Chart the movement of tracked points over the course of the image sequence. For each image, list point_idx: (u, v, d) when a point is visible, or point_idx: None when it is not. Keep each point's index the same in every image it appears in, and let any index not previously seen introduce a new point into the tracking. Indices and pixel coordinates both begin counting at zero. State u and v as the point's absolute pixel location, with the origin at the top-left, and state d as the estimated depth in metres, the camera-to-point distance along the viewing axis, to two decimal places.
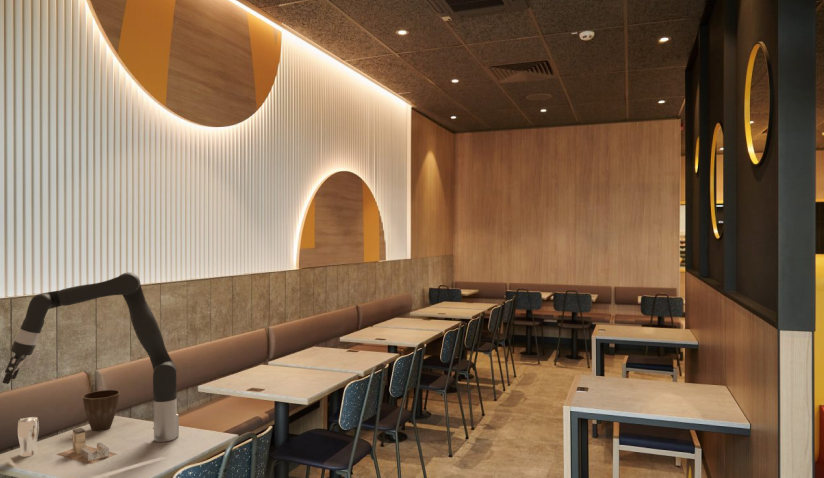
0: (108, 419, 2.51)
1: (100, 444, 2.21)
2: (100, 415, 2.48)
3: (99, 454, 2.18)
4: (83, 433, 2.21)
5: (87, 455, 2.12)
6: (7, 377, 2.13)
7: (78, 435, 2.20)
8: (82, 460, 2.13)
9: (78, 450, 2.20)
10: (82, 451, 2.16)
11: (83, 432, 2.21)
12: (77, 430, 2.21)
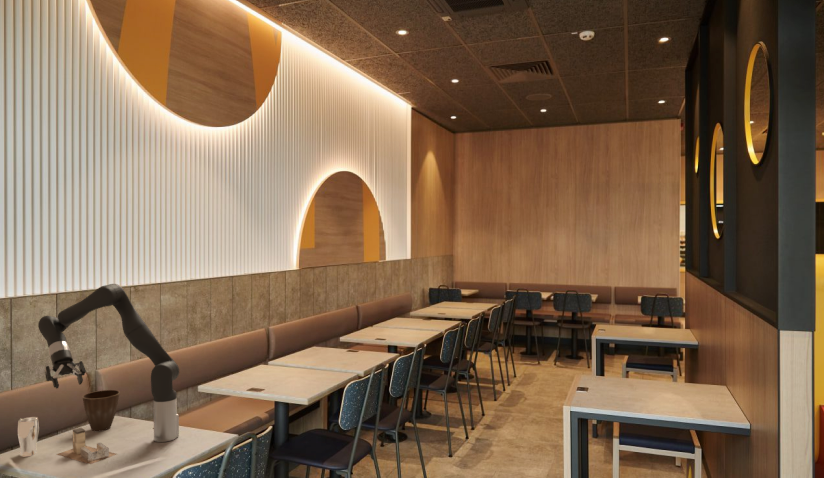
0: (108, 419, 2.51)
1: (100, 444, 2.21)
2: (100, 415, 2.48)
3: (99, 454, 2.18)
4: (83, 433, 2.21)
5: (87, 455, 2.12)
6: (53, 382, 2.27)
7: (78, 435, 2.20)
8: (82, 460, 2.13)
9: (78, 450, 2.20)
10: (82, 451, 2.16)
11: (83, 432, 2.21)
12: (77, 430, 2.21)
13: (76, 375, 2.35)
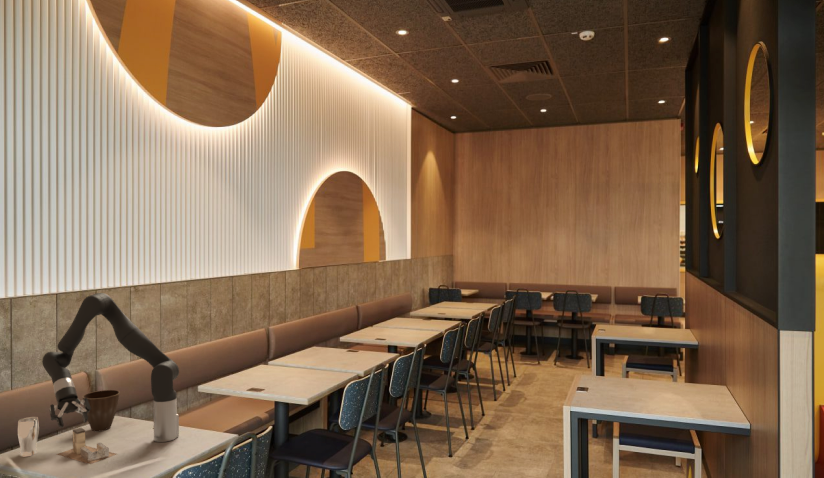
0: (108, 419, 2.51)
1: (100, 444, 2.21)
2: (100, 415, 2.48)
3: (99, 454, 2.18)
4: (83, 433, 2.21)
5: (87, 455, 2.12)
6: (58, 421, 2.24)
7: (78, 435, 2.20)
8: (82, 460, 2.13)
9: (78, 450, 2.20)
10: (82, 451, 2.16)
11: (83, 432, 2.21)
12: (77, 430, 2.21)
13: (81, 413, 2.32)
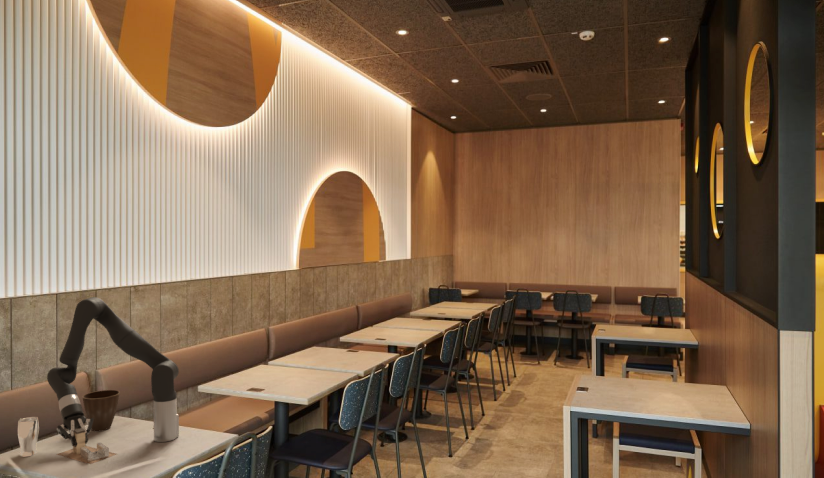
0: (108, 419, 2.51)
1: (100, 444, 2.21)
2: (100, 415, 2.48)
3: (99, 454, 2.18)
4: (83, 433, 2.21)
5: (87, 455, 2.12)
6: (71, 440, 2.20)
7: (78, 435, 2.20)
8: (82, 460, 2.13)
9: (78, 450, 2.20)
10: (82, 451, 2.16)
11: (83, 432, 2.21)
12: (77, 430, 2.21)
13: None
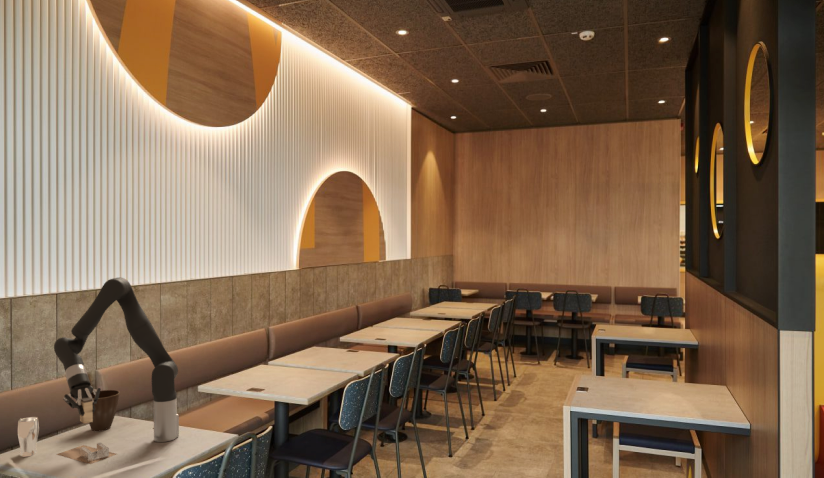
0: (108, 419, 2.51)
1: (100, 444, 2.21)
2: (100, 415, 2.48)
3: (99, 454, 2.18)
4: (90, 402, 2.19)
5: (87, 455, 2.12)
6: (78, 409, 2.18)
7: (85, 404, 2.18)
8: (82, 460, 2.13)
9: (85, 419, 2.18)
10: (82, 451, 2.16)
11: (90, 401, 2.19)
12: (84, 399, 2.19)
13: None
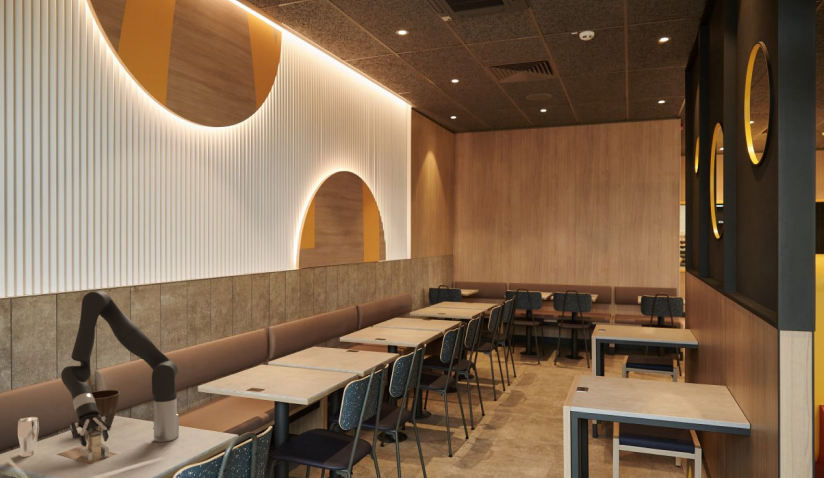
0: None
1: None
2: (100, 415, 2.48)
3: None
4: (99, 436, 2.16)
5: (87, 455, 2.12)
6: (80, 440, 2.14)
7: (94, 438, 2.15)
8: (82, 460, 2.13)
9: (94, 454, 2.15)
10: (82, 451, 2.16)
11: (99, 435, 2.16)
12: (92, 433, 2.17)
13: (101, 431, 2.22)
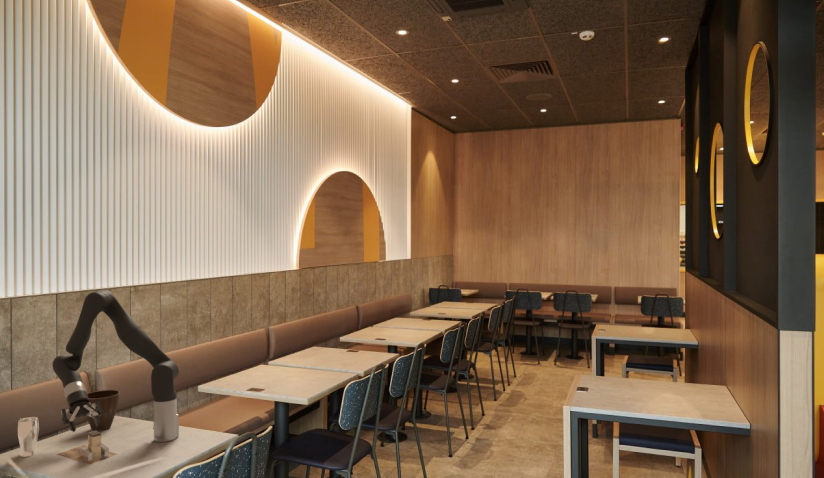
0: (108, 419, 2.51)
1: None
2: None
3: None
4: (99, 436, 2.16)
5: (87, 455, 2.12)
6: (70, 426, 2.22)
7: (94, 438, 2.15)
8: (82, 460, 2.13)
9: (94, 454, 2.15)
10: (82, 451, 2.16)
11: (99, 435, 2.16)
12: (92, 433, 2.17)
13: (93, 416, 2.30)
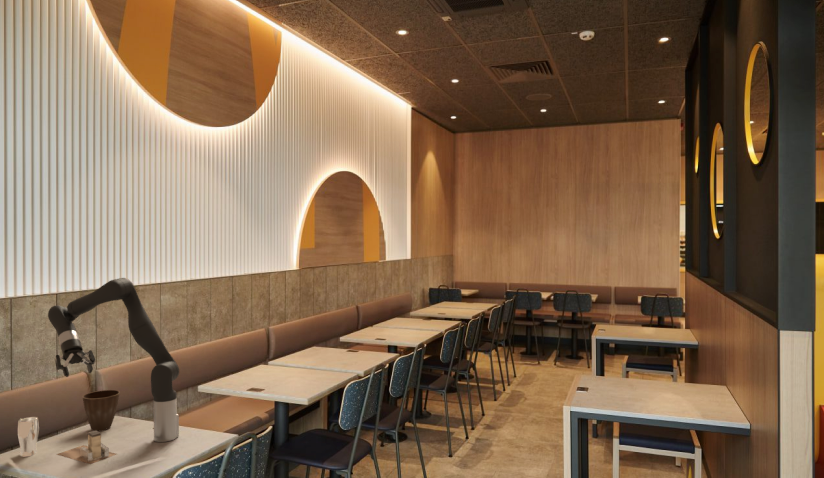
0: (108, 419, 2.51)
1: None
2: (100, 415, 2.48)
3: None
4: (99, 436, 2.16)
5: (87, 455, 2.12)
6: (63, 371, 2.28)
7: (94, 438, 2.15)
8: (82, 460, 2.13)
9: (94, 454, 2.15)
10: (82, 451, 2.16)
11: (99, 435, 2.16)
12: (92, 433, 2.17)
13: (86, 364, 2.37)
